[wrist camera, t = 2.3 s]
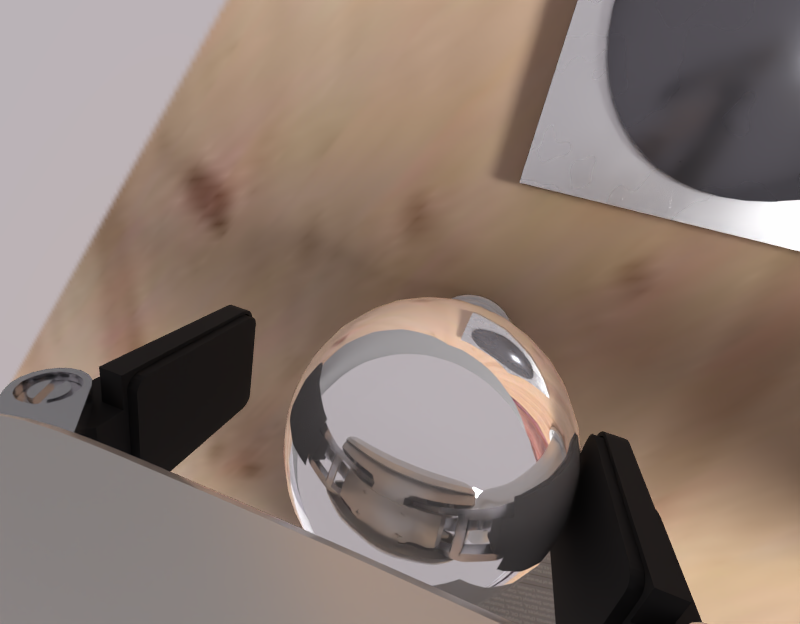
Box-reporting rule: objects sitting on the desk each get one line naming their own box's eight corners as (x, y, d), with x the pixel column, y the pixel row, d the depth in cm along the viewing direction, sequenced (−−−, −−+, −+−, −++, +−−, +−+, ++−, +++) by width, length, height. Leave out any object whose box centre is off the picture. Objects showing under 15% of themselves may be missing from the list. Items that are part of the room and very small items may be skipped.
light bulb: (407, 231, 17) (191, 333, 6) (579, 256, 15) (676, 455, 5) (393, 373, 20) (221, 616, 9) (540, 408, 18) (545, 767, 7)
